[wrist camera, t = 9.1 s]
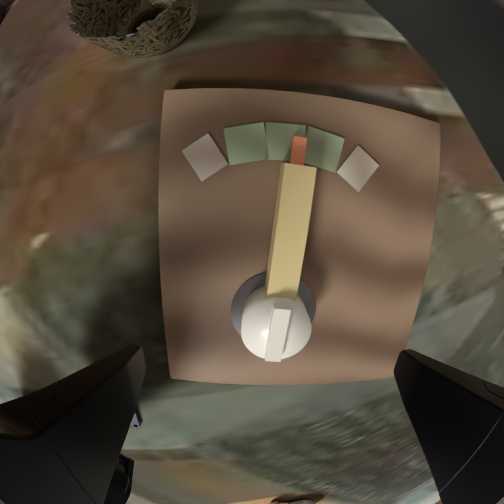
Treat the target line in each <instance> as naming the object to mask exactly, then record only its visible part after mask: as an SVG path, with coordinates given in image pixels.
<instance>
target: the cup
mask: <svg viewBox="0 0 504 504" xmlns="http://www.w3.org/2000/svg"><path fill="white" fill-rule="evenodd" d="M69 4H70V6H71V8H72V9H71V11H69V12H67V17H68V19H69V20H70V21H71V22H72V23H73V24H69V25H68V27H69V28H70V30H72V31H74V32H76V33H77V34H79V35H78V37H80V38H83V39H86V40H88V41H90V42H92V43H94V44H96V45H98V46H100V47H102V48H105V49H107V50H109V51H111V52H113V53H116V54H119V55H122V56H125V57H131V58H145V57H151V56H155V55H161V54H165V53H168V52H170V51H172V50H173V49H175V48H176V47H177V46H178V45H179V44H180V43H181V41H182V40H183V39H184V38H185V37H186V36H187V34H188V33H189V32H190V30H191V28H192V27H193V25H194V23H195V20H196V17H197V12H198V0H71V1H70V3H69Z"/></svg>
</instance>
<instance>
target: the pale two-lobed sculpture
mask: <svg viewBox="0 0 504 504" xmlns="http://www.w3.org/2000/svg"><path fill="white" fill-rule="evenodd" d="M270 504H279V503H278V502H277V501H274V502H272V503H270ZM289 504H315V503H314V502H313V501H311V500H308V499H307V500H299V501H294V502H290V503H289Z"/></svg>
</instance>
